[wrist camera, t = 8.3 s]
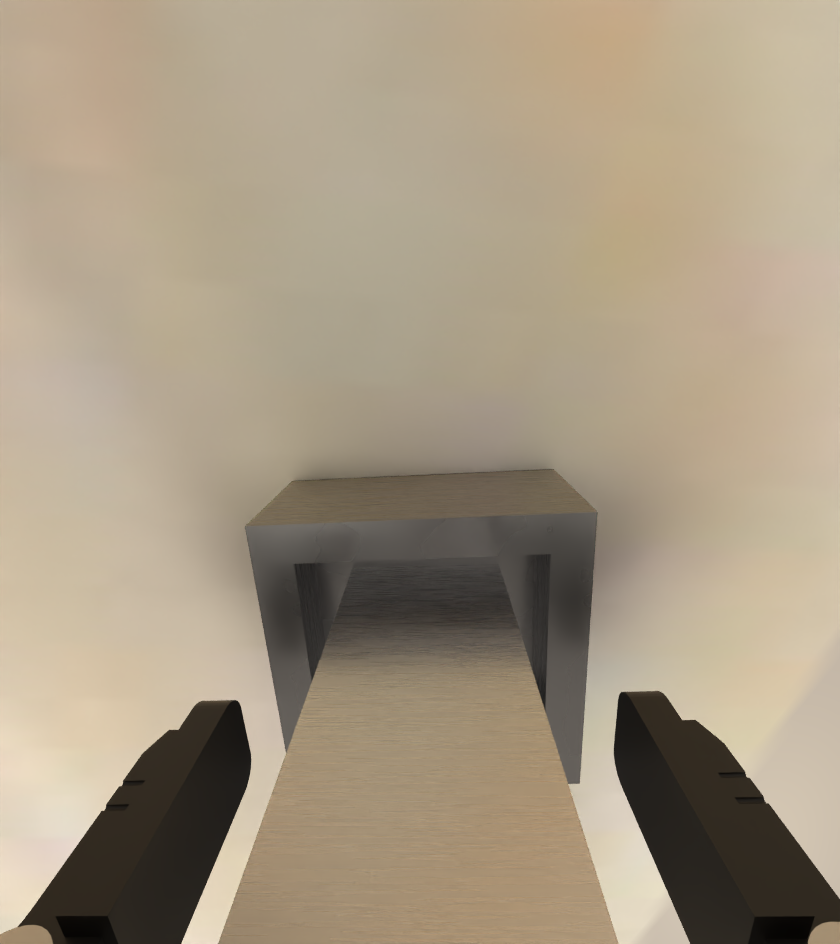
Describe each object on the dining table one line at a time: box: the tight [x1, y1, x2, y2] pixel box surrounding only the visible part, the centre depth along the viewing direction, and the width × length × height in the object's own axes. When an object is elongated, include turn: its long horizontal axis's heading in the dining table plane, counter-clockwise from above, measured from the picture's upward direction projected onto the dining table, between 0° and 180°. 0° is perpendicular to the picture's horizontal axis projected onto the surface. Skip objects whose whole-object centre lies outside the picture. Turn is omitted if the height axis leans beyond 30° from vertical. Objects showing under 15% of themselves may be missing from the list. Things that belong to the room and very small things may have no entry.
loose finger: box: [218, 564, 618, 944], centre depth 8 cm, size 5×4×8 cm
